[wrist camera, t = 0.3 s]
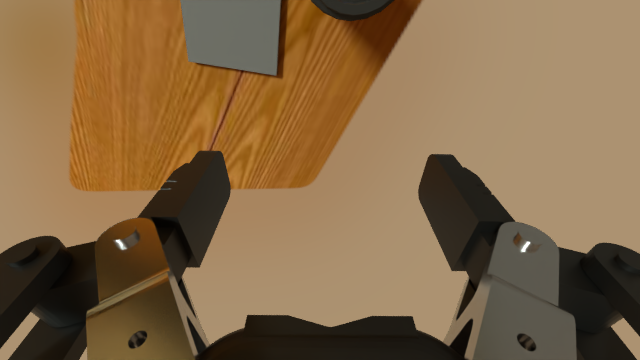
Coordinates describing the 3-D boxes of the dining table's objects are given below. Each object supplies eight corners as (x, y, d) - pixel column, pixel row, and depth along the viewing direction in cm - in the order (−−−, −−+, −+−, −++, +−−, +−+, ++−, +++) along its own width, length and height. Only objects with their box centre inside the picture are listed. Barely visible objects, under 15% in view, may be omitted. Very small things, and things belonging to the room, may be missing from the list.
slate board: (176, -67, 26) (171, -68, 26) (284, -44, 27) (283, -45, 27) (191, 59, 33) (188, 61, 33) (277, 73, 34) (276, 75, 34)
